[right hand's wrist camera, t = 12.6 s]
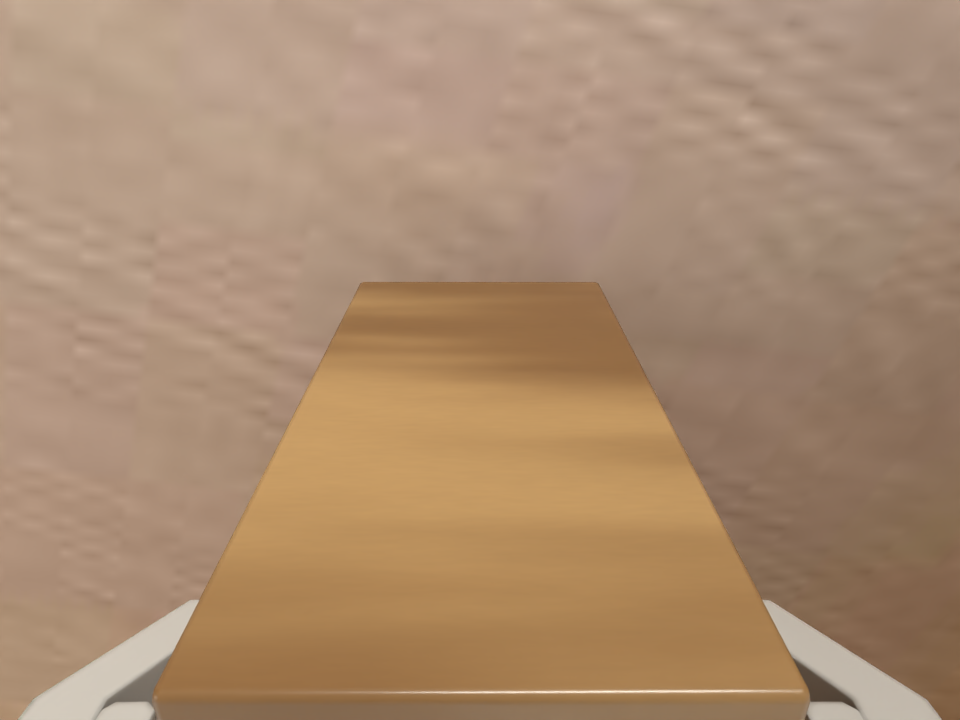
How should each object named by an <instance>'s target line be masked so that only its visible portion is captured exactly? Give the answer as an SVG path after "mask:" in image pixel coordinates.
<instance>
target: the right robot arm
mask: <svg viewBox="0 0 960 720" xmlns="http://www.w3.org/2000/svg"><path fill="white" fill-rule="evenodd" d="M198 602H199V600H189V601H188V602H186V603H185V604H183V605H182V606H180V607H178V608H177V609H175V610H174V611H172V612H170V613H169V614H167V615H166V616H164V617H162V618H161V619H159V620H158V621H156V622H154V623H153V624H151V625H150V626H148V627H147V628H145V629H143V630H142V631H140V632H139V633H137V634H135V635H134V636H132V637H131V638H129V639H127V640H126V641H124V642H123V643H121V644H120V645H118V646H116V647H115V648H113V649H112V650H110V651H108V652H107V653H105V654H104V655H102V656H100V657H99V658H97V659H96V660H94V661H93V662H91V663H89V664H88V665H86V666H85V667H83V668H81V669H80V670H78V671H77V672H75V673H73V674H72V675H70V676H69V677H67V678H66V679H64V680H62V681H61V682H59V683H58V684H56V685H54V686H53V687H51V688H50V689H48V690H46V691H45V692H43V693H42V694H40V695H39V696H37V697H35V698H34V699H33V700H32V701H31V703H30V704H29V705H28V707H27V708H26V709H25V711H24V712H23V713H22V714H21V716H20V717H19V718H18V720H157V717H156V714H155V711H154V707H153V704H152V694H153V691H154V688H155V686H156V684H157V682H158V680H159V678H160V676H161V674H162V672H163V670H164V668H165V666H166V664H167V663H168V661H169V659H170V657H171V655H172V653H173V651H174V649H175V647H176V645H177V643H178V641H179V639H180V637H181V635H182V633H183V631H184V629H185V627H186V625H187V623H188V621H189V619H190V617H191V615H192V613H193V611H194V609H195V608H196V606H197V604H198ZM763 602H764V604H765V606H766V608H767V610H768V612H769V614H770V616H771V618H772V620H773V622H774V623H775V625H776V627H777V629H778V631H779V633H780V635H781V637H782V639H783V641H784V643H785V645H786V647H787V649H788V650H789V652H790V654H791V656H792V658H793V660H794V662H795V664H796V666H797V668H798V670H799V672H800V674H801V676H802V677H803V679H804V681H805V683H806V685H807V687H808V690H809V693H810V704H809V707H808V711H807V714H806V717H805V720H942V719H941V718H940V716H939V715H938V714H937V712H936V711H935V710H934V708H933V707H932V706H931V704H930V703H929V702H928V700H927V699H925V698H923V697H922V696H920V695H919V694H917V693H916V692H914V691H912V690H911V689H909V688H908V687H906V686H904V685H903V684H901V683H900V682H898V681H897V680H895V679H893V678H892V677H890V676H889V675H887V674H885V673H884V672H882V671H881V670H879V669H878V668H876V667H874V666H873V665H871V664H870V663H868V662H866V661H865V660H863V659H862V658H860V657H859V656H857V655H855V654H854V653H852V652H851V651H849V650H847V649H846V648H844V647H843V646H841V645H840V644H838V643H836V642H835V641H833V640H832V639H830V638H829V637H827V636H825V635H824V634H822V633H821V632H819V631H817V630H816V629H814V628H813V627H811V626H810V625H808V624H806V623H805V622H803V621H802V620H800V619H798V618H797V617H795V616H794V615H792V614H791V613H789V612H787V611H786V610H784V609H783V608H781V607H779V606H778V605H776V604H775V603H773V602H772V601H770V600H763Z"/></svg>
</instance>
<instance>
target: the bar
mask: <svg viewBox="0 0 960 720" xmlns="http://www.w3.org/2000/svg"><path fill="white" fill-rule="evenodd" d="M152 704H153V707H154V711H155V714H156V717H157V720H805V717H806V714H807V711H808V707H809V704H810V693H809V690H808V687H807V685H806V683H805V681H804V679H803V677H802V676H801V674H800V672H799V670H798V668H797V666H796V664H795V662H794V660H793V658H792V656H791V654H790V652H789V650H788V649H787V647H786V645H785V643H784V641H783V639H782V637H781V635H780V633H779V631H778V629H777V627H776V625H775V623H774V622H773V620H772V618H771V616H770V614H769V612H768V610H767V608H766V606H765V604H764V602H763V600H762V598H761V596H760V595H759V593H758V591H757V589H756V587H755V585H754V583H753V581H752V579H751V577H750V575H749V573H748V571H747V569H746V568H745V566H744V564H743V562H742V560H741V558H740V556H739V554H738V552H737V550H736V548H735V546H734V544H733V542H732V540H731V539H730V537H729V535H728V533H727V531H726V529H725V527H724V525H723V523H722V521H721V519H720V517H719V515H718V513H717V512H716V510H715V508H714V506H713V504H712V502H711V500H710V498H709V496H708V494H707V492H706V490H705V488H704V486H703V485H702V483H701V481H700V479H699V477H698V475H697V473H696V471H695V469H694V467H693V465H692V463H691V461H690V459H689V458H688V456H687V454H686V452H685V450H684V448H683V446H682V444H681V442H680V440H679V438H678V436H677V434H676V432H675V431H674V429H673V427H672V425H671V423H670V421H669V419H668V417H667V415H666V413H665V411H664V409H663V407H662V405H661V404H660V402H659V400H658V398H657V396H656V394H655V392H654V390H653V388H652V386H651V384H650V382H649V380H648V378H647V376H646V375H645V373H644V371H643V369H642V367H641V365H640V363H639V361H638V359H637V357H636V355H635V353H634V351H633V349H632V348H631V346H630V344H629V342H628V340H627V338H626V336H625V334H624V332H623V330H622V328H621V326H620V324H619V322H618V321H617V319H616V317H615V315H614V313H613V311H612V309H611V307H610V305H609V303H608V301H607V299H606V297H605V295H604V294H603V292H602V290H601V288H600V286H599V284H598V283H596V282H363V283H360V285H359V287H358V289H357V291H356V293H355V295H354V297H353V299H352V301H351V303H350V305H349V307H348V309H347V311H346V313H345V315H344V317H343V319H342V321H341V323H340V325H339V327H338V329H337V331H336V333H335V335H334V337H333V338H332V340H331V342H330V344H329V346H328V348H327V350H326V352H325V354H324V356H323V358H322V360H321V362H320V364H319V366H318V368H317V370H316V372H315V374H314V376H313V378H312V380H311V382H310V384H309V386H308V388H307V390H306V391H305V393H304V395H303V397H302V399H301V401H300V403H299V405H298V407H297V409H296V411H295V413H294V415H293V417H292V419H291V421H290V423H289V425H288V427H287V429H286V431H285V433H284V435H283V437H282V439H281V441H280V443H279V445H278V446H277V448H276V450H275V452H274V454H273V456H272V458H271V460H270V462H269V464H268V466H267V468H266V470H265V472H264V474H263V476H262V478H261V480H260V482H259V484H258V486H257V488H256V490H255V492H254V494H253V496H252V498H251V500H250V501H249V503H248V505H247V507H246V509H245V511H244V513H243V515H242V517H241V519H240V521H239V523H238V525H237V527H236V529H235V531H234V533H233V535H232V537H231V539H230V541H229V543H228V545H227V547H226V549H225V551H224V553H223V554H222V556H221V558H220V560H219V562H218V564H217V566H216V568H215V570H214V572H213V574H212V576H211V578H210V580H209V582H208V584H207V586H206V588H205V590H204V592H203V594H202V596H201V598H200V600H199V602H198V604H197V606H196V608H195V609H194V611H193V613H192V615H191V617H190V619H189V621H188V623H187V625H186V627H185V629H184V631H183V633H182V635H181V637H180V639H179V641H178V643H177V645H176V647H175V649H174V651H173V653H172V655H171V657H170V659H169V661H168V663H167V664H166V666H165V668H164V670H163V672H162V674H161V676H160V678H159V680H158V682H157V684H156V686H155V688H154V691H153V694H152Z"/></svg>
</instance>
